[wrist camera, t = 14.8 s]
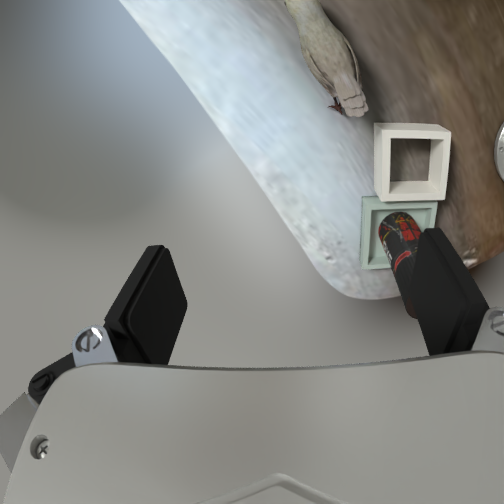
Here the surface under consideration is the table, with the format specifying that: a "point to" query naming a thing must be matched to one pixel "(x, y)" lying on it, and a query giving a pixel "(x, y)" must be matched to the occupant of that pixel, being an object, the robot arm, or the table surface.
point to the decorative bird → (329, 56)
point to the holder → (437, 168)
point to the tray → (373, 216)
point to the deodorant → (401, 251)
